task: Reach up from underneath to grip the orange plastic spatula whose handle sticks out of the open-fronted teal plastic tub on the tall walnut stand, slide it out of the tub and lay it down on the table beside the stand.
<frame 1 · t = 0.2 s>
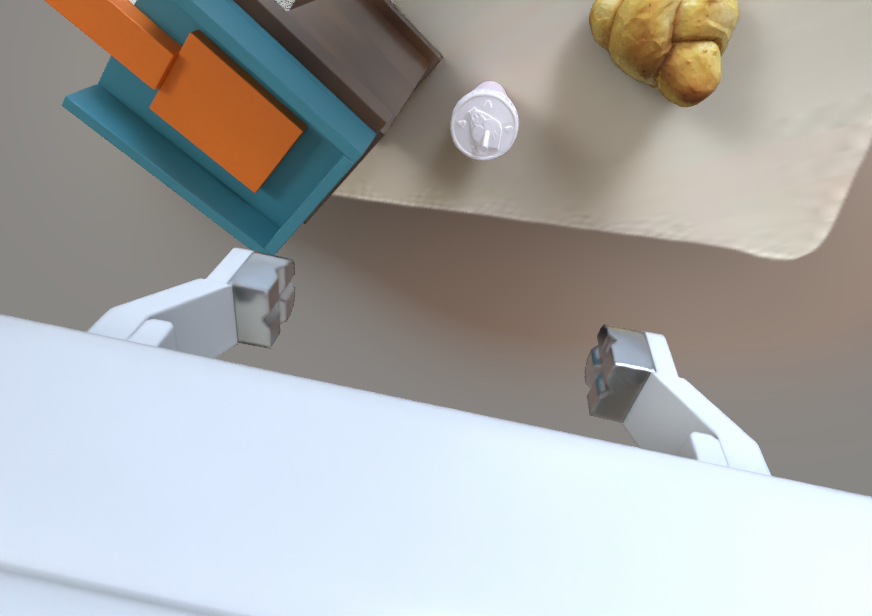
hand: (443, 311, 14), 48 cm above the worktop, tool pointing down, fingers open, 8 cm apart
smoothie: (489, 98, 57), on the worktop
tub: (237, 111, 35), resting on stand
stand: (344, 39, 55), on the worktop
bread roll: (655, 20, 50), on the worktop
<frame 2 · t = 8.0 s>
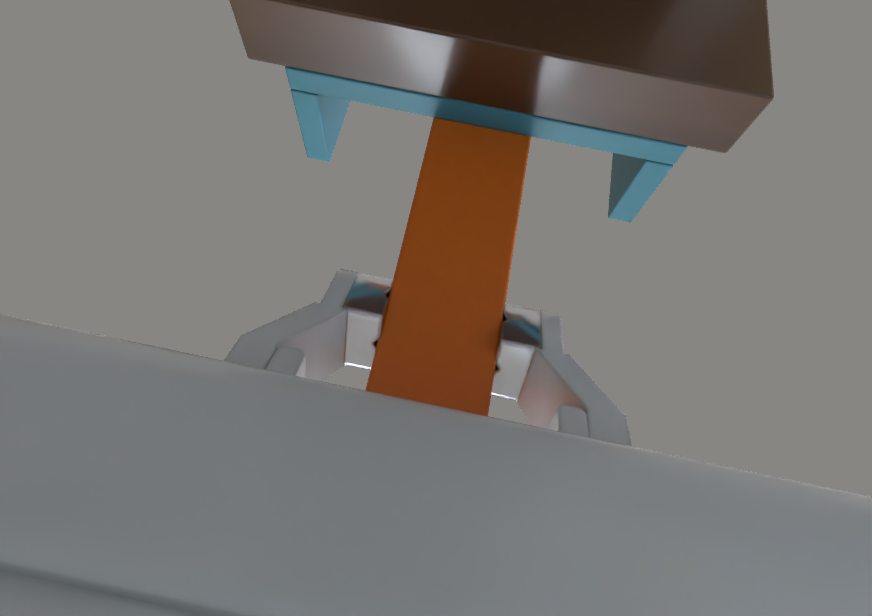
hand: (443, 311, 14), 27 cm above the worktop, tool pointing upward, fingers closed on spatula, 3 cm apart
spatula: (467, 201, 14), point 26 cm above the worktop, touching gripper, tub
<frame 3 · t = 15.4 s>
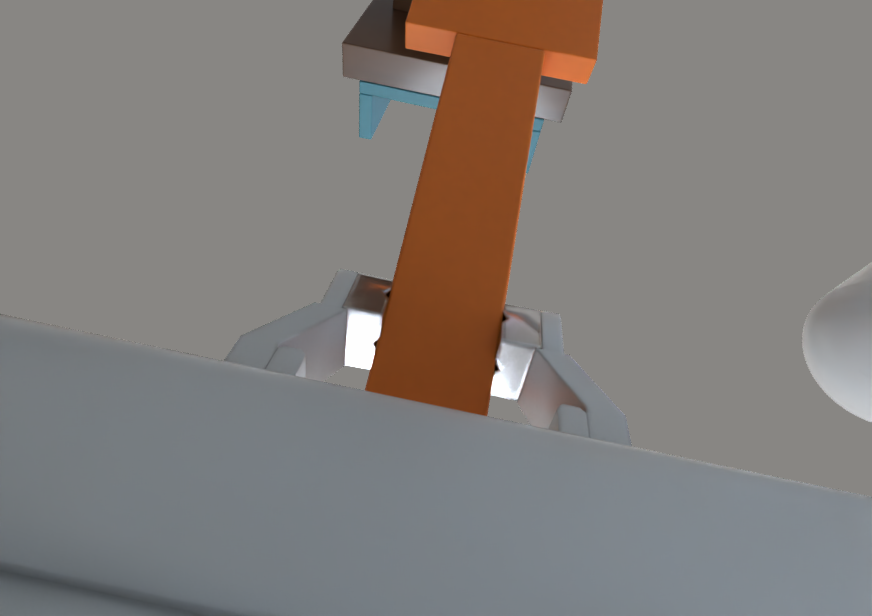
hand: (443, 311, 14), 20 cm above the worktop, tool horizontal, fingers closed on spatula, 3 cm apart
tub: (470, 44, 35), resting on stand
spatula: (467, 202, 14), point 18 cm above the worktop, tilted 17°, touching gripper
when the fingers open (9 cm above the worktop, at t = 17.7 s): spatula drops 7 cm, on the worktop.
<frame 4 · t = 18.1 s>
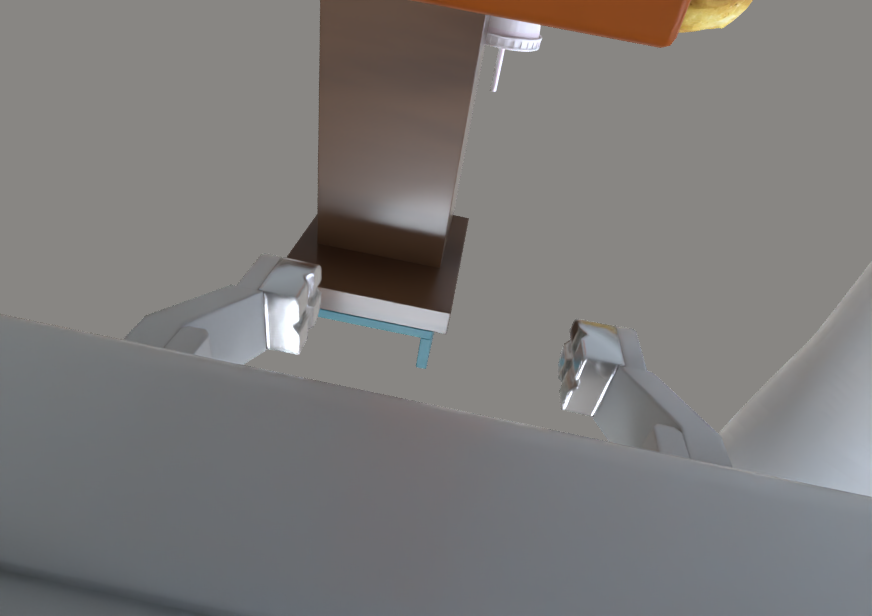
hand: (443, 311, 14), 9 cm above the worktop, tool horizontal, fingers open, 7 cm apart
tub: (381, 263, 45), resting on stand
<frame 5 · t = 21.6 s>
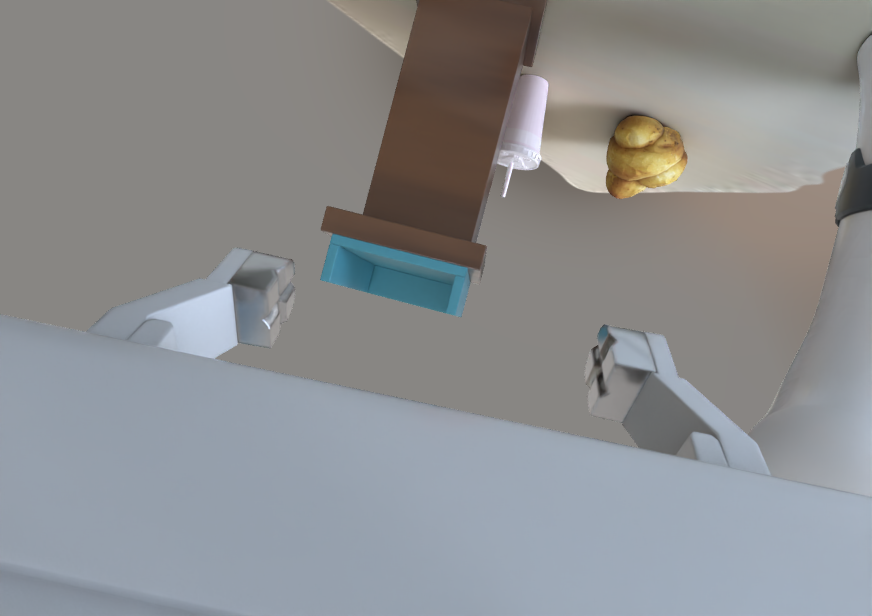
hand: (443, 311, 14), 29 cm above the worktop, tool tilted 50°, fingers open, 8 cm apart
smoothie: (533, 80, 63), on the worktop
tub: (411, 261, 49), resting on stand
bread roll: (652, 129, 68), on the worktop
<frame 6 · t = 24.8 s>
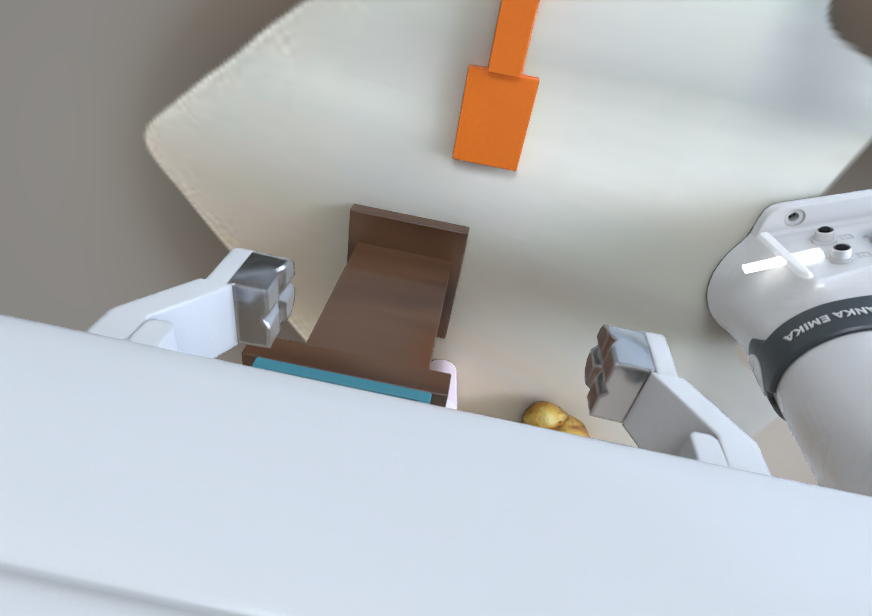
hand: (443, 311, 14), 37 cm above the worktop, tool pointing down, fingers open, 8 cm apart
smoothie: (441, 369, 66), on the worktop
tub: (339, 449, 37), resting on stand
stand: (405, 260, 57), on the worktop
bread roll: (554, 426, 70), on the worktop
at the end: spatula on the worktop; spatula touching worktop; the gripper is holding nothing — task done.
